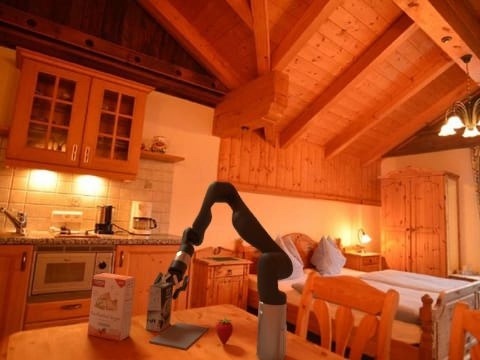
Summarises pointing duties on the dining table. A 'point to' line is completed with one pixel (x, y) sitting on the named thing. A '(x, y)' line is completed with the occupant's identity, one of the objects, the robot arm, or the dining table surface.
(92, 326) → the cracker box
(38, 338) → the dining table surface
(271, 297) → the robot arm
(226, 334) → the strawberry
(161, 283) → the coffee box
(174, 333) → the slate mat
